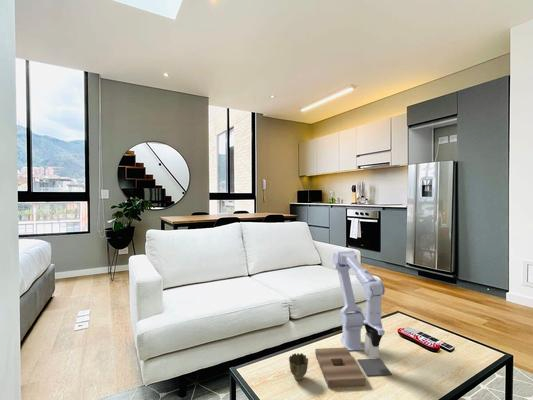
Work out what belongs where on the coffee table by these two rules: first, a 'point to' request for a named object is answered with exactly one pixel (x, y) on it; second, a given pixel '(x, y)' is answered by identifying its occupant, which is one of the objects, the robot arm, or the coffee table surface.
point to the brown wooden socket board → (339, 368)
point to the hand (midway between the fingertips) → (373, 343)
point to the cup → (298, 365)
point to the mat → (374, 367)
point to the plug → (370, 346)
